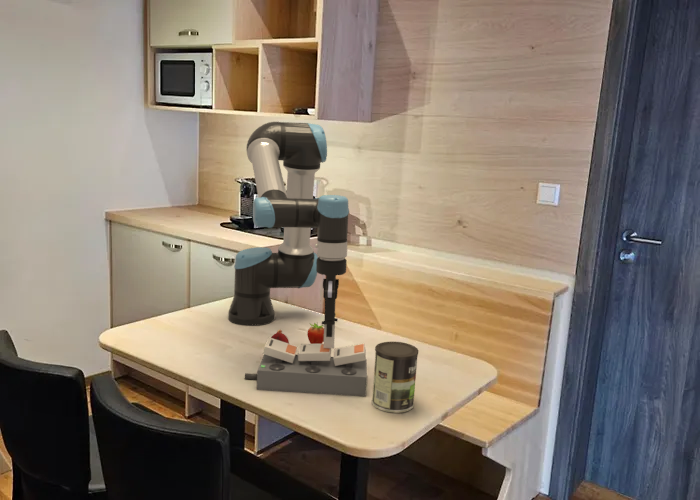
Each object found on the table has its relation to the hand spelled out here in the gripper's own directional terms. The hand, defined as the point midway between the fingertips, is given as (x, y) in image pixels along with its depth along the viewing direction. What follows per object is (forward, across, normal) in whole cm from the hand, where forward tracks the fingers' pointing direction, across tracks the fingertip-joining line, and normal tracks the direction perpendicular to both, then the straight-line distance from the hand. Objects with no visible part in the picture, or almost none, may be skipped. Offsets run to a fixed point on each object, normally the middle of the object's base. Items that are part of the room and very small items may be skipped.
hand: (328, 347), depth 163 cm
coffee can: (+10, +11, +16) cm, 22 cm away
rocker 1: (+2, 0, -13) cm, 13 cm away
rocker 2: (+2, 0, -4) cm, 4 cm away
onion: (+9, -14, -15) cm, 22 cm away
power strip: (+9, +2, -6) cm, 11 cm away
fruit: (+9, -23, -5) cm, 25 cm away
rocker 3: (+2, 0, +6) cm, 6 cm away
